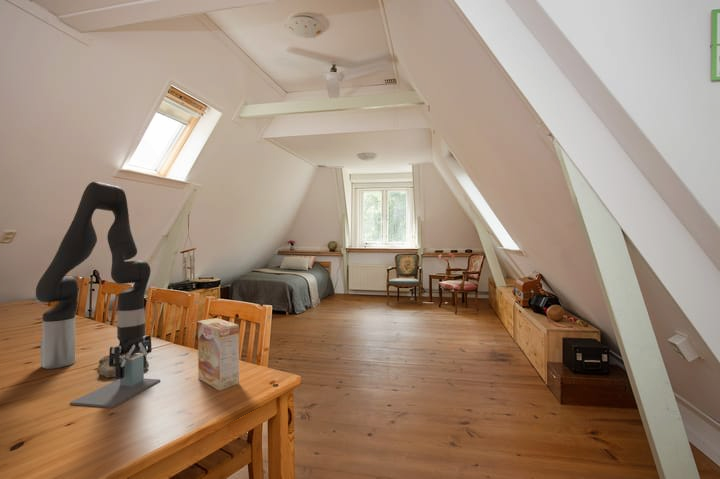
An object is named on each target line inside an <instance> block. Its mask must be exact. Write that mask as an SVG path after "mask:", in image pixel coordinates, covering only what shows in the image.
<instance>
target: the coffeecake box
mask: <svg viewBox="0 0 720 479" xmlns="http://www.w3.org/2000/svg"><path fill="white" fill-rule="evenodd" d="M239 328H240V325H239V324H237V323H234V322H231V321H227V320H225V319H221V318H218V317H216V318H215V317H214V318H209V319H203V320H198V321H197V339H198V340H197V341H198V342H197V346H198V347H197V348H198V349H197V350H198V351H197V352H198V353H197V357H198V359H197V360H198V362H197V363H198V365H197V366H198V368H197V370H198V373H197V375H198V376H197V377H198V380H201V381H202V382H204V383H205V384H207V385H209V386H211V387H212V388H214V389H216V390H218V391H219V392H220V391H223V390H227V389H228V388H231V387H234V386H237V385H240V359H239V358H240V355H239V354H240V351H239V350H240V346H239V345H240V343H239V342H240V340H239V338H240V335H239V333H240V331H239V330H240V329H239Z"/></svg>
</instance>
